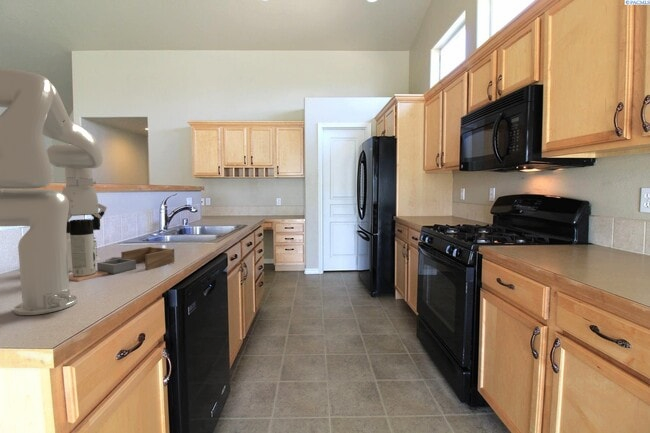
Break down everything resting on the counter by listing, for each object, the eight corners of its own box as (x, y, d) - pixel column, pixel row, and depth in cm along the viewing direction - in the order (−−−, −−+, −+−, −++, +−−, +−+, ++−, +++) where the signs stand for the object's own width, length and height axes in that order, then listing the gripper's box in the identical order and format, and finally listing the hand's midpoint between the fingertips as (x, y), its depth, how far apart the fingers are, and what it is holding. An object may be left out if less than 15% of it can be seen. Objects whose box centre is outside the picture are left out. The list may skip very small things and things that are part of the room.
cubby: (174, 262, 134) (174, 249, 133) (147, 269, 122) (147, 254, 121) (150, 259, 139) (149, 246, 138) (121, 266, 126) (121, 252, 126)
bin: (136, 268, 123) (135, 260, 123) (114, 274, 115) (113, 265, 114) (120, 266, 126) (119, 258, 126) (97, 271, 118) (97, 262, 117)
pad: (108, 274, 115) (107, 272, 115) (78, 281, 106) (78, 279, 106) (89, 271, 118) (89, 269, 118) (60, 278, 109) (60, 276, 109)
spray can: (99, 273, 113) (96, 219, 111) (76, 278, 107) (73, 221, 105) (91, 271, 116) (88, 218, 115) (69, 275, 111) (65, 220, 109)
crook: (146, 259, 139) (146, 256, 139) (140, 262, 134) (140, 259, 134) (113, 260, 138) (112, 257, 137) (105, 263, 132) (105, 260, 132)
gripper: (97, 184, 118) (99, 228, 120) (43, 182, 102) (47, 233, 104) (111, 184, 116) (113, 229, 117) (58, 182, 100) (61, 235, 101)
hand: (82, 231), depth 111 cm, fingers open, 9 cm apart
